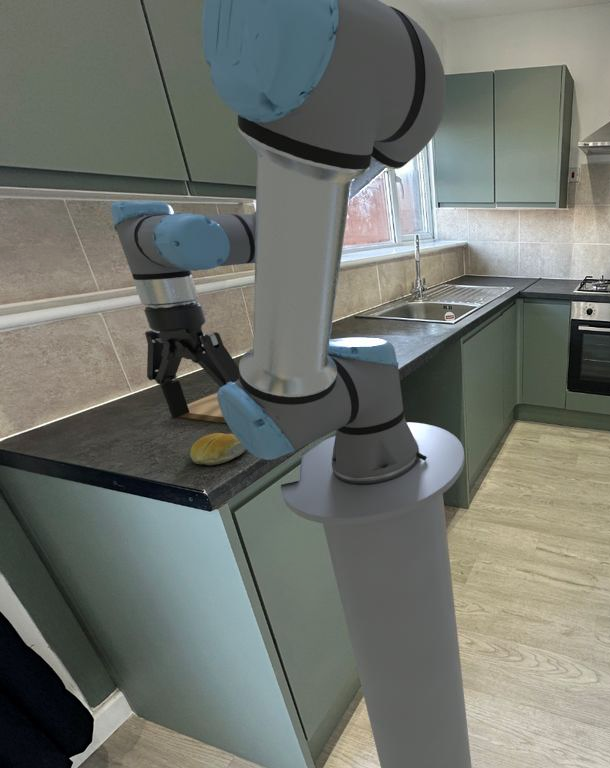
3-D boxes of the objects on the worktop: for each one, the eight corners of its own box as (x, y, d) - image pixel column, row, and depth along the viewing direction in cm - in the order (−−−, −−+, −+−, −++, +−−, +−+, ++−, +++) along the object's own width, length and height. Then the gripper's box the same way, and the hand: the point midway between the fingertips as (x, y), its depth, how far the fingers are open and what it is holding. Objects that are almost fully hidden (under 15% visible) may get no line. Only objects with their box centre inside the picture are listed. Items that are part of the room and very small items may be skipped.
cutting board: (290, 400, 103) (289, 394, 102) (242, 425, 90) (240, 419, 90) (227, 393, 108) (226, 388, 108) (174, 416, 96) (171, 410, 95)
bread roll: (219, 442, 83) (213, 424, 82) (256, 447, 81) (250, 428, 80) (179, 464, 76) (172, 445, 75) (218, 469, 74) (212, 450, 72)
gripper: (251, 301, 68) (279, 417, 76) (141, 297, 75) (178, 404, 83) (209, 311, 62) (245, 436, 70) (92, 304, 68) (137, 420, 76)
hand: (209, 419), depth 76 cm, fingers open, 13 cm apart
